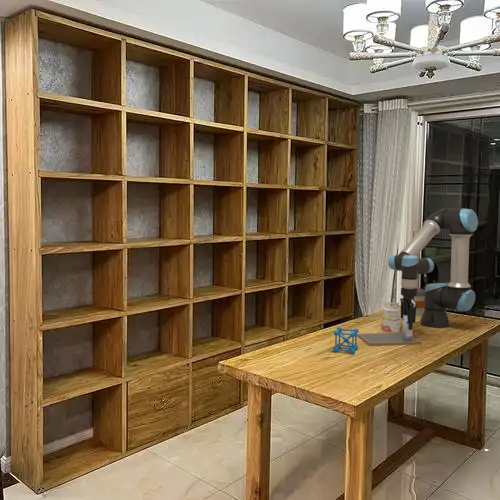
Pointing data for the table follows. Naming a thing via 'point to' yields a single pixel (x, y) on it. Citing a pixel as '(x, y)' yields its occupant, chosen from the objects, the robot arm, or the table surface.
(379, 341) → the slate board
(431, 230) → the robot arm
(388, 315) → the ink cartridge box
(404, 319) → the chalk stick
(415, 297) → the reusable coffee cup
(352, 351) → the molecular structure
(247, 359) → the table surface
